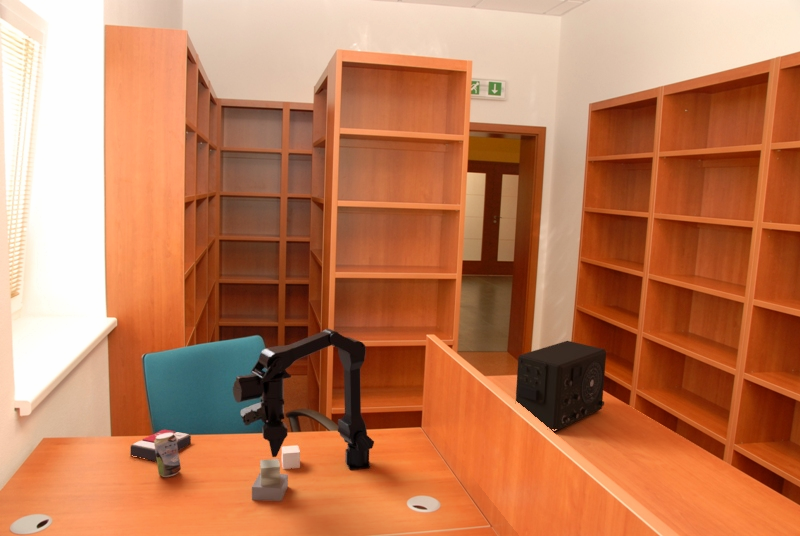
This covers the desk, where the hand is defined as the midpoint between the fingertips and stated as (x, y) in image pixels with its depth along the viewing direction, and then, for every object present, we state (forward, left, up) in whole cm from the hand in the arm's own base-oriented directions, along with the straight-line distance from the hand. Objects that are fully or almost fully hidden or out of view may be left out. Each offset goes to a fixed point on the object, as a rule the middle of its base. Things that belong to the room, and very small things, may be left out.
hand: (273, 449), depth 168 cm
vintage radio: (-109, -33, -12) cm, 115 cm away
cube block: (+1, +2, -8) cm, 8 cm away
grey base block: (+1, +2, -12) cm, 12 cm away
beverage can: (+29, -15, -12) cm, 35 cm away
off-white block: (-6, -14, -12) cm, 20 cm away
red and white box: (+32, -33, -12) cm, 48 cm away
